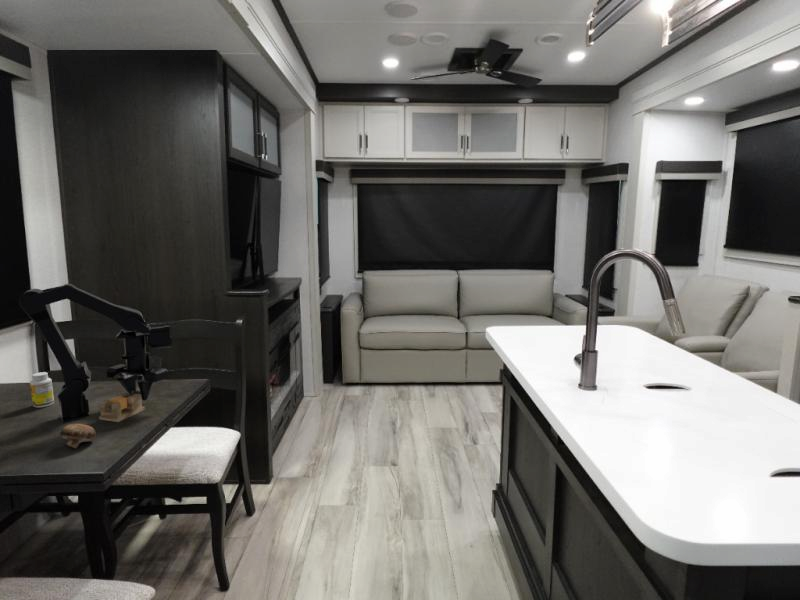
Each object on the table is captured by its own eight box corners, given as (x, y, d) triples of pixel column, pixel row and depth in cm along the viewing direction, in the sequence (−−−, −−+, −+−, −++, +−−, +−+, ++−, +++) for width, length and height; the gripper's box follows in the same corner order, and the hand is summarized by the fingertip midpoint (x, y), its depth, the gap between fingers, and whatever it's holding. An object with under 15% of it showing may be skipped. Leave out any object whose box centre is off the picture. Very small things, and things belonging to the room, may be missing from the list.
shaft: (118, 414, 146) (116, 401, 146) (107, 413, 147) (105, 400, 147) (148, 401, 157) (147, 388, 156) (137, 399, 158) (136, 387, 158)
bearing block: (118, 422, 145) (116, 405, 144) (99, 419, 147) (97, 403, 146) (145, 409, 154) (143, 394, 153) (126, 407, 156) (125, 391, 155)
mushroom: (63, 444, 123) (71, 419, 126) (50, 448, 127) (58, 424, 130) (97, 449, 128) (103, 425, 131) (83, 453, 133) (90, 430, 136)
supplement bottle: (35, 403, 160) (31, 372, 158) (56, 400, 162) (52, 370, 160) (30, 409, 155) (26, 377, 153) (51, 406, 157) (48, 375, 155)
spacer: (120, 410, 147) (119, 400, 147) (109, 408, 148) (108, 399, 148) (127, 407, 149) (126, 397, 149) (116, 405, 151) (115, 396, 150)
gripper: (179, 346, 159) (182, 393, 161) (132, 342, 164) (136, 388, 167) (152, 355, 148) (156, 406, 151) (103, 351, 154) (107, 399, 156)
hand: (139, 399), depth 156 cm, fingers closed on shaft, 4 cm apart
